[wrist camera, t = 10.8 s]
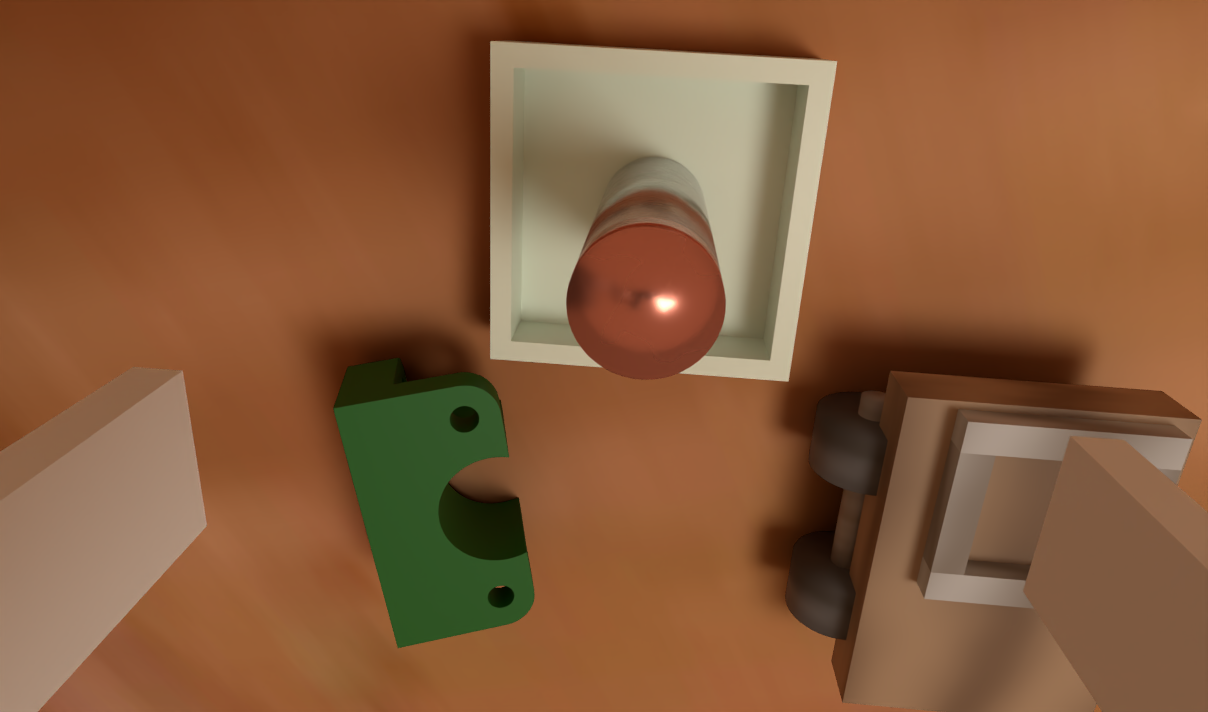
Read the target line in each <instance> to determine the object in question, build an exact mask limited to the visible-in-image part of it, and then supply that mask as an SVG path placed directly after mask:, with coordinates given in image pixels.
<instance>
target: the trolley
mask: <svg viewBox="0 0 1208 712" xmlns="http://www.w3.org/2000/svg"><path fill="white" fill-rule="evenodd" d="M1201 421H1202V420H1201V419H1200V418H1199V417H1197V416H1196V415H1194V414H1193V413H1192V412H1190V411H1189V410H1188V409H1186V408H1185V407H1183V406H1182V405H1181V404H1179V403H1178V402H1176V401H1175V400H1174V399H1172V398H1171V397H1169V396H1168V395H1167V394H1165V393H1164V392H1162V391H1153V390H1140V389H1127V388H1113V387H1100V386H1087V385H1073V384H1060V383H1047V382H1033V381H1020V380H1007V379H994V378H980V377H967V376H954V375H940V374H927V373H914V372H900V371H890V374H889V379H888V384H887V389H886V393H884V392H880V391H873V390H869V391H864V392H840V393H834V394H831V395H828V396H825V397H823V398H822V399H821V400H820V401H819V402H818V405H817V411H816V417H815V422H814V428H813V434H812V440H811V446H810V452H809V464H810V466H811V468H812V469H813V470H814V471H815V472H816V473H817V474H818V475H819V476H820V477H822V478H823V479H825V480H826V481H828V482H830V483H831V484H833V485H836V486H838V487H840V488H843V494H842V499H841V505H840V510H839V515H838V520H837V526H836V531H820V532H814V533H810V534H807V535H805V536H803V537H801V538H800V539H799V540H798V541H797V542H796V543H795V545H794V548H793V553H792V559H791V565H790V570H789V576H788V582H787V588H786V595H785V599H786V603H787V606H788V608H789V610H790V611H791V613H792V614H793V615H794V616H795V618H796V619H798V620H799V621H800V622H801V623H802V624H804V625H805V626H807V627H808V628H810V629H812V630H813V631H816V632H818V633H820V634H822V635H825V636H828V637H832V638H836V641H835V646H834V650H833V655H832V660H831V661H832V665H833V669H834V672H835V676H836V680H837V684H838V687H839V691H840V695H841V699H842V702H843V703H853V704H864V705H874V706H885V707H896V708H906V709H917V710H928V711H938V712H1094V710H1095V707H1096V704H1097V703H1096V701H1095V700H1094V698H1093V697H1092V695H1091V694H1090V692H1089V691H1088V689H1087V688H1086V686H1085V685H1084V683H1083V682H1082V680H1081V679H1080V677H1079V676H1078V674H1077V673H1076V671H1075V670H1074V668H1073V667H1072V665H1071V664H1070V662H1069V661H1068V659H1067V657H1066V656H1065V654H1064V653H1063V651H1062V650H1061V648H1060V647H1059V645H1058V644H1057V642H1056V641H1055V639H1054V638H1053V636H1052V635H1051V633H1050V632H1049V630H1048V629H1047V627H1046V626H1045V624H1044V623H1043V621H1042V620H1041V618H1040V616H1039V615H1038V613H1037V612H1036V610H1035V609H1034V607H1033V606H1032V604H1031V603H1030V601H1029V600H1028V598H1027V597H1026V595H1025V594H1024V592H1023V589H1024V586H1025V583H1026V579H1027V576H1028V573H1029V569H1030V566H1031V563H1032V560H1033V556H1034V553H1035V550H1036V547H1037V543H1038V540H1039V537H1040V533H1041V530H1042V527H1043V524H1044V520H1045V517H1046V514H1047V510H1048V507H1049V504H1050V501H1051V497H1052V494H1053V491H1054V487H1055V484H1056V481H1057V478H1058V474H1059V471H1060V468H1061V464H1062V461H1063V458H1064V455H1065V451H1066V448H1067V445H1068V441H1069V438H1070V436H1080V437H1093V438H1107V439H1120V440H1125V441H1126V442H1127V443H1128V444H1130V445H1131V446H1132V447H1133V448H1134V449H1135V450H1137V451H1138V452H1139V453H1140V454H1141V455H1142V456H1143V457H1145V458H1146V459H1147V460H1148V461H1149V462H1150V463H1152V464H1153V465H1154V466H1155V467H1156V468H1157V469H1158V470H1160V471H1161V472H1162V473H1163V474H1164V475H1165V476H1167V477H1168V478H1169V479H1170V480H1171V481H1172V482H1173V483H1175V484H1176V485H1177V486H1178V483H1179V480H1180V477H1181V475H1182V472H1183V469H1184V467H1185V464H1186V461H1187V459H1188V456H1189V453H1190V450H1191V448H1192V445H1193V442H1194V440H1195V437H1196V434H1197V432H1198V429H1199V426H1200V423H1201Z"/></svg>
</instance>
